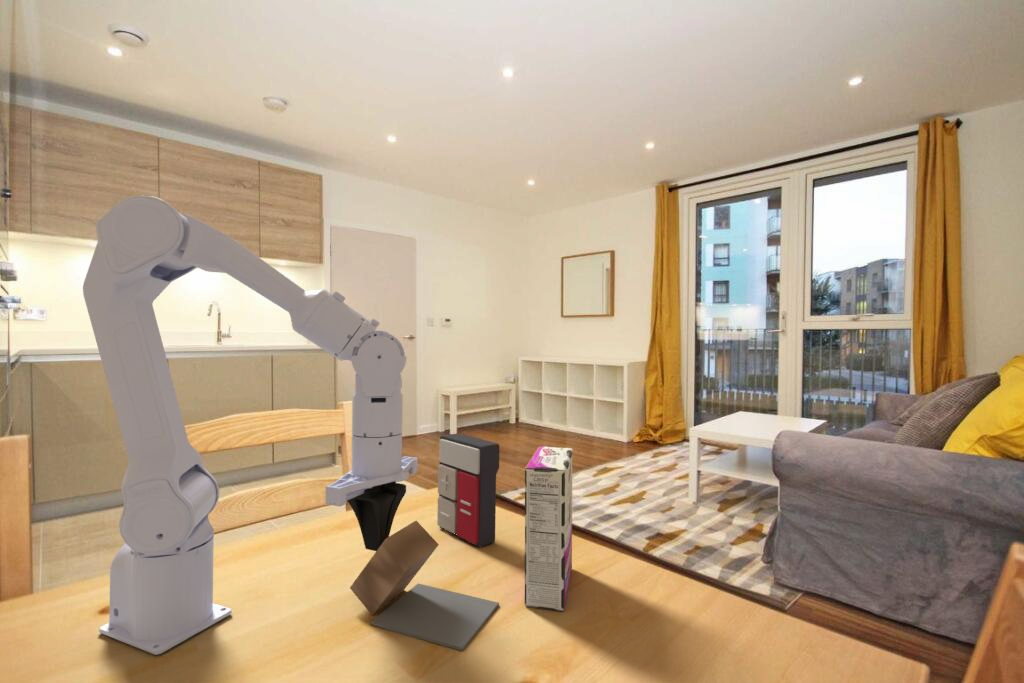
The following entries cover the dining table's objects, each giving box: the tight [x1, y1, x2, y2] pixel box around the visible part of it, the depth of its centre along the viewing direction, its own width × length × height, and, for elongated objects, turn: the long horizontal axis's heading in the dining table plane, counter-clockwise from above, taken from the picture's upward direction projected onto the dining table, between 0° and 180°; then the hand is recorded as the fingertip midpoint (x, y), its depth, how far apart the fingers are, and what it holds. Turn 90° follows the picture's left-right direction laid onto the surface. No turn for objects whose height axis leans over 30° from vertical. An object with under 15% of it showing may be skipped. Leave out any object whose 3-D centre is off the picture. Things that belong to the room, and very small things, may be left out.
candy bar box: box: [524, 445, 574, 612], centre depth 61 cm, size 11×5×16 cm, turn 168°
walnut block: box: [349, 520, 439, 616], centre depth 56 cm, size 4×6×8 cm
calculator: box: [436, 433, 500, 548], centre depth 76 cm, size 11×4×15 cm, turn 43°
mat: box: [371, 583, 500, 652], centre depth 54 cm, size 11×9×1 cm
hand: (375, 548), depth 57 cm, fingers closed
